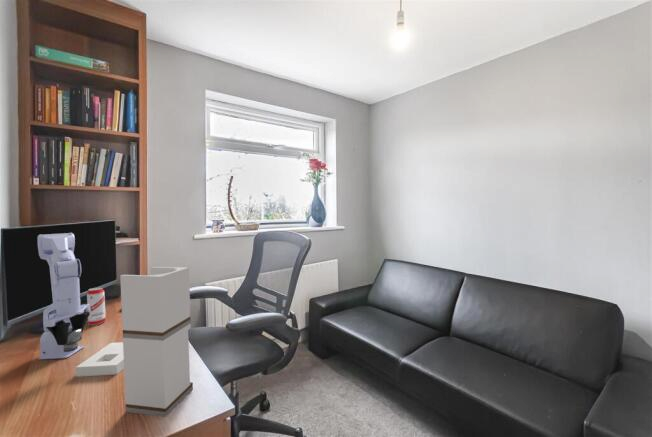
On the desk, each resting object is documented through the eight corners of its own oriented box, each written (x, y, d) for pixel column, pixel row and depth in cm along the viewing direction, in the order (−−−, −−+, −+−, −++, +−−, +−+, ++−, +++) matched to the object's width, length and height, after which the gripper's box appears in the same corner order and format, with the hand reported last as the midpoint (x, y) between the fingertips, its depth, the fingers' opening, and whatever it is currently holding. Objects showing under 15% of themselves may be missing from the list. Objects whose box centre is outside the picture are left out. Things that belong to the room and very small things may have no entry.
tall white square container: (192, 389, 81) (188, 267, 79) (165, 416, 70) (160, 276, 69) (157, 385, 83) (153, 266, 81) (125, 411, 72) (120, 275, 71)
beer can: (108, 322, 131) (106, 288, 130) (91, 327, 125) (89, 291, 125) (102, 319, 134) (101, 286, 134) (85, 324, 129) (84, 289, 128)
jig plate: (76, 376, 88) (75, 367, 88) (111, 350, 104) (110, 342, 104) (117, 374, 89) (116, 364, 89) (145, 349, 105) (145, 341, 105)
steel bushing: (53, 354, 88) (52, 335, 88) (68, 345, 94) (67, 327, 94) (72, 353, 89) (72, 334, 88) (86, 344, 94) (85, 327, 94)
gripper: (62, 305, 84) (64, 350, 84) (97, 291, 98) (99, 329, 99) (36, 306, 83) (39, 351, 84) (76, 291, 98) (78, 330, 98)
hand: (70, 339), depth 91 cm, fingers closed on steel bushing, 6 cm apart
